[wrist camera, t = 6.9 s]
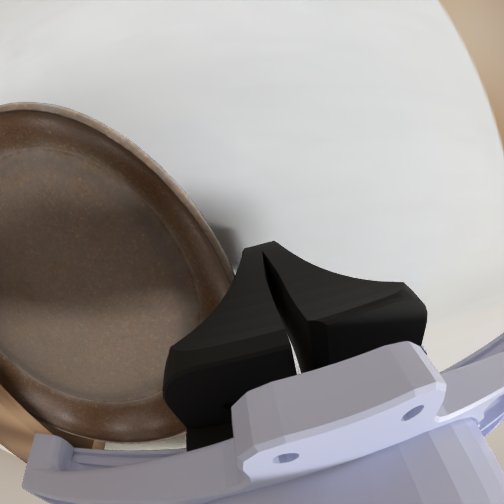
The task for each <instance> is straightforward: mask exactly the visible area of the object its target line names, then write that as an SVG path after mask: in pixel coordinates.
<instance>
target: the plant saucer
mask: <svg viewBox="0 0 504 504" xmlns="http://www.w3.org/2000/svg"><path fill="white" fill-rule="evenodd" d="M234 277H235V275H234V272H233V270H232V267H231V265H230V263H229V261H228V258H227V256H226V254H225V252H224V250H223V249H222V247H221V245H220V243H219V241H218V239H217V237H216V236H215V234H214V232H213V231H212V229H211V228H210V226H209V225H208V223H207V222H206V220H205V219H204V217H203V215H202V214H201V213H200V211H199V210H198V208H197V207H196V206H195V204H194V203H193V202H192V200H191V199H190V198H189V197H188V195H187V194H186V193H185V192H184V191H183V190H182V188H181V187H180V186H179V185H178V184H177V183H176V181H175V180H174V179H173V178H172V177H171V176H170V175H169V174H168V173H167V172H166V171H165V170H164V169H163V168H162V167H161V166H160V165H159V164H158V163H157V162H156V161H155V160H153V159H152V158H151V157H150V156H149V155H148V154H146V153H145V152H144V151H143V150H142V149H140V148H139V147H138V146H137V145H135V144H134V143H133V142H132V141H130V140H129V139H127V138H126V137H124V136H123V135H121V134H120V133H118V132H117V131H115V130H113V129H112V128H110V127H108V126H106V125H105V124H103V123H101V122H99V121H97V120H95V119H93V118H91V117H89V116H87V115H84V114H82V113H80V112H77V111H74V110H72V109H69V108H65V107H61V106H57V105H53V104H46V103H37V102H17V103H9V104H4V105H0V384H1V386H2V387H3V388H4V389H5V390H6V391H7V392H8V393H9V394H10V395H11V396H12V397H13V398H14V399H15V400H16V401H17V402H18V403H19V404H20V405H21V406H22V407H23V408H24V409H25V410H26V411H27V412H28V413H29V414H30V415H31V416H32V417H33V418H35V419H37V420H39V421H41V422H42V423H45V424H47V425H50V426H51V427H54V428H56V429H59V430H61V431H64V432H67V433H69V434H72V435H76V436H80V437H83V438H87V439H92V440H96V441H103V442H109V443H121V444H141V443H150V442H157V441H162V440H167V439H171V438H174V437H177V436H181V435H183V434H186V427H185V426H184V425H183V424H182V423H181V421H180V420H179V419H178V418H177V417H176V416H175V414H174V413H173V412H172V411H171V410H170V408H169V407H168V406H167V404H166V403H165V401H164V399H163V392H162V389H163V379H164V370H165V365H166V360H167V357H168V354H169V349H170V347H171V346H172V345H174V344H175V343H177V342H178V341H180V340H181V339H182V338H184V337H185V336H186V335H188V334H189V333H190V332H192V331H193V330H194V329H195V328H196V327H197V326H199V325H200V324H201V323H202V322H203V321H204V320H205V319H206V318H207V317H208V316H209V315H210V314H211V312H212V311H213V310H214V309H215V308H216V307H217V305H218V304H219V303H220V302H221V300H222V299H223V297H224V296H225V294H226V292H227V291H228V289H229V287H230V285H231V283H232V281H233V279H234Z"/></svg>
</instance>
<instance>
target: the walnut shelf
mask: <svg viewBox="0 0 504 504" xmlns="http://www.w3.org/2000/svg"><path fill="white" fill-rule="evenodd" d="M35 433H42V434H50V435H56V436H59V437H61V438H63V439H65V440H66V441H67V442H69V443H70V444H71V445H72V446H73V447H74V448H84V449H98V450H104V447H105V442H103V441H96V440H92V439H87V438H83V437H80V436H76V435H72V434H69V433H67V432H64V431H61V430H59V429H56V428H54V427H51V426H50V425H47V424H45V423H42V422H41V421H39V420H37V419H35V418H33V417H32V416H31V415H30V414H29V413H28V412H27V411H26V410H25V409H24V408H23V407H22V406H21V405H20V404H19V403H18V402H17V401H16V400H15V399H14V398H13V397H12V396H11V395H10V394H9V393H8V392H7V391H6V390H5V389H4V388H3V387H2V386H1V384H0V444H2V445H3V446H4V447H5V448H7V449H8V450H9V451H10V452H12V453H13V454H14V455H16V456H17V457H18V458H20V459H21V460H23V461H24V462H25V463H27V462H28V458H29V454H30V450H31V447H32V443H33V440H34V436H35Z"/></svg>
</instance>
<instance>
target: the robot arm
mask: <svg viewBox="0 0 504 504" xmlns="http://www.w3.org/2000/svg"><path fill="white" fill-rule="evenodd" d="M426 323H427V310H426V306H425V305H424V303H423V302H422V301H421V300H420V299H419V298H418V297H417V295H416V294H415V293H414V292H413V291H412V290H411V289H410V288H409V287H408V286H407V285H406V284H405V283H404V282H380V281H371V280H363V279H358V278H352V277H348V276H344V275H340V274H337V273H333V272H330V271H328V270H325V269H322V268H320V267H317V266H315V265H313V264H311V263H309V262H307V261H305V260H303V259H301V258H299V257H298V256H296V255H294V254H293V253H291V252H290V251H288V250H287V249H285V248H284V247H282V246H281V245H280V244H278V243H277V242H275V241H272V242H268V243H264V244H260V245H256V246H252V247H249V248H245V249H244V250H243V252H242V258H241V261H240V264H239V267H238V270H237V272H236V275H235V277H234V279H233V281H232V283H231V285H230V287H229V289H228V291H227V292H226V294H225V296H224V297H223V299H222V300H221V302H220V303H219V304H218V305H217V307H216V308H215V309H214V310H213V311H212V312H211V314H210V315H209V316H208V317H207V318H206V319H205V320H204V321H203V322H202V323H201V324H200V325H199V326H197V327H196V328H195V329H194V330H193V331H192V332H190V333H189V334H188V335H186V336H185V337H184V338H182V339H181V340H180V341H178V342H177V343H175V344H174V345H172V346H171V347H170V349H169V354H168V357H167V360H166V365H165V370H164V379H163V389H162V392H163V399H164V401H165V403H166V404H167V406H168V407H169V408H170V410H171V411H172V412H173V413H174V414H175V416H176V417H177V418H178V419H179V420H180V421H181V423H182V424H183V425H184V426H185V427H186V448H182V449H168V450H139V451H126V450H98V449H84V448H74V447H73V446H72V445H71V444H70V443H69V442H67V441H66V440H65V439H63V438H61V437H59V436H56V435H50V434H42V433H35V436H34V440H33V443H32V447H31V450H30V454H29V458H28V462H27V466H26V470H25V474H24V479H23V483H22V487H23V489H25V490H26V491H28V492H30V493H31V494H33V495H35V496H37V497H39V498H41V499H42V500H44V501H46V502H48V503H50V504H504V472H503V470H502V469H501V467H500V465H499V463H498V461H497V459H496V457H495V456H494V454H493V452H492V450H491V448H490V447H489V445H488V443H487V442H486V440H485V438H484V437H485V436H486V435H487V434H489V433H490V432H491V431H492V430H493V429H495V428H496V427H497V426H498V425H499V424H500V423H502V422H503V421H504V333H503V334H501V335H500V336H498V337H497V338H495V339H494V340H493V341H491V342H490V343H488V344H487V345H485V346H484V347H482V348H481V349H479V350H477V351H476V352H474V353H473V354H471V355H469V356H468V357H466V358H465V359H463V360H461V361H460V362H458V363H456V364H454V365H453V366H451V367H449V368H447V369H446V370H444V371H442V372H440V373H439V372H438V371H437V369H436V368H435V366H434V365H433V364H432V362H431V361H430V359H429V358H428V356H427V353H426V348H425V347H424V346H421V344H422V340H423V336H424V332H425V328H426ZM287 334H288V335H287ZM288 337H289V338H288ZM289 339H290V341H291V343H292V346H293V348H294V351H295V354H296V357H297V360H298V364H299V367H300V370H301V373H302V374H298V375H297V373H296V368H295V363H294V358H293V353H292V348H291V344H290V341H289Z"/></svg>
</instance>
